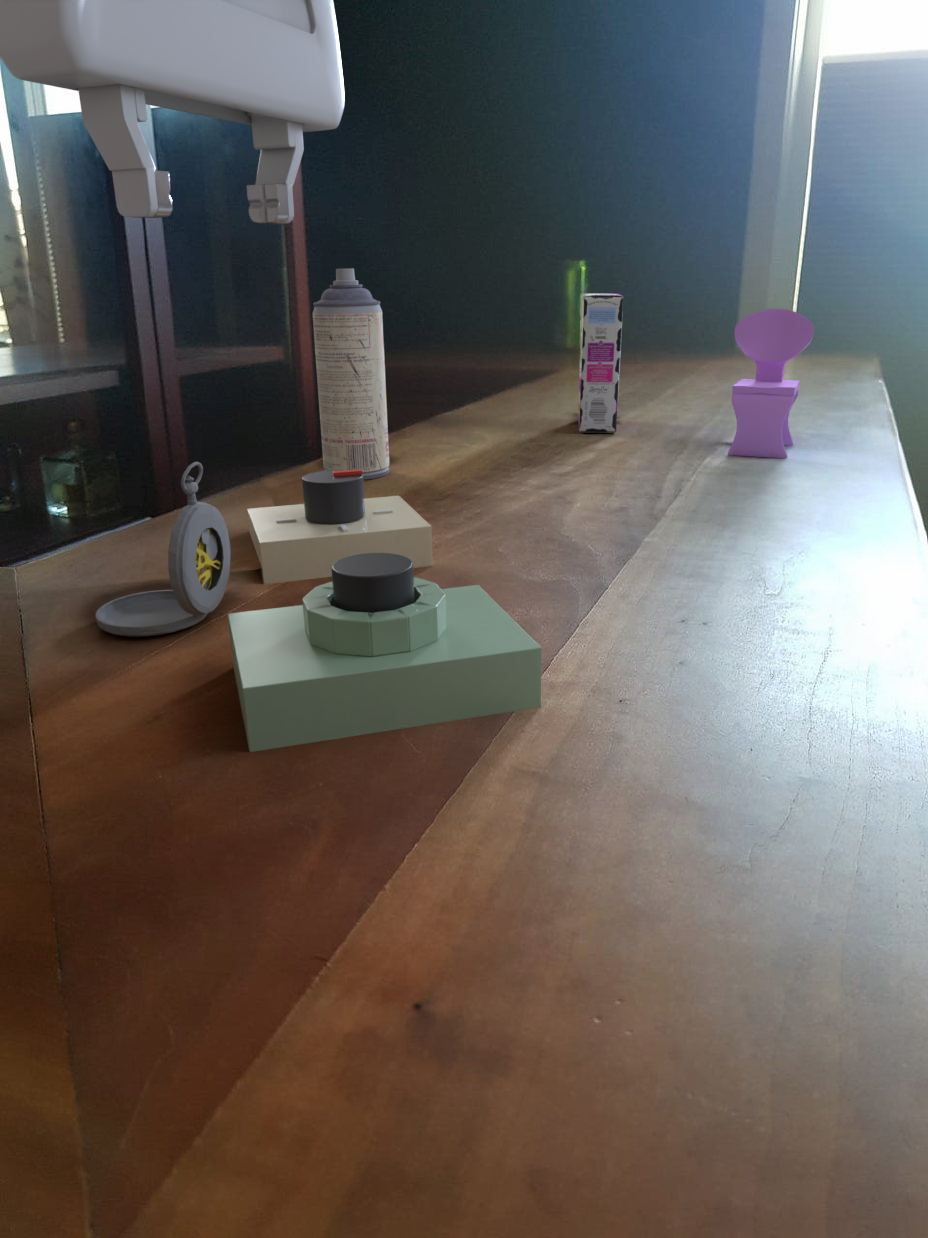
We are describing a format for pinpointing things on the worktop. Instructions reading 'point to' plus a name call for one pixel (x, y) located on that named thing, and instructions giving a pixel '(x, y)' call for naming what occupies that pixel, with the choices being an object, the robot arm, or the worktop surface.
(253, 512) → the dial panel
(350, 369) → the aerosol can
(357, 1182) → the worktop surface
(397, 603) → the black push button
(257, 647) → the button base
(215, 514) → the pocket watch
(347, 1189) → the worktop surface
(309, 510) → the dial
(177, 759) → the worktop surface
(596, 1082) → the worktop surface
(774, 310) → the toy chair
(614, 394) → the candy bar box
